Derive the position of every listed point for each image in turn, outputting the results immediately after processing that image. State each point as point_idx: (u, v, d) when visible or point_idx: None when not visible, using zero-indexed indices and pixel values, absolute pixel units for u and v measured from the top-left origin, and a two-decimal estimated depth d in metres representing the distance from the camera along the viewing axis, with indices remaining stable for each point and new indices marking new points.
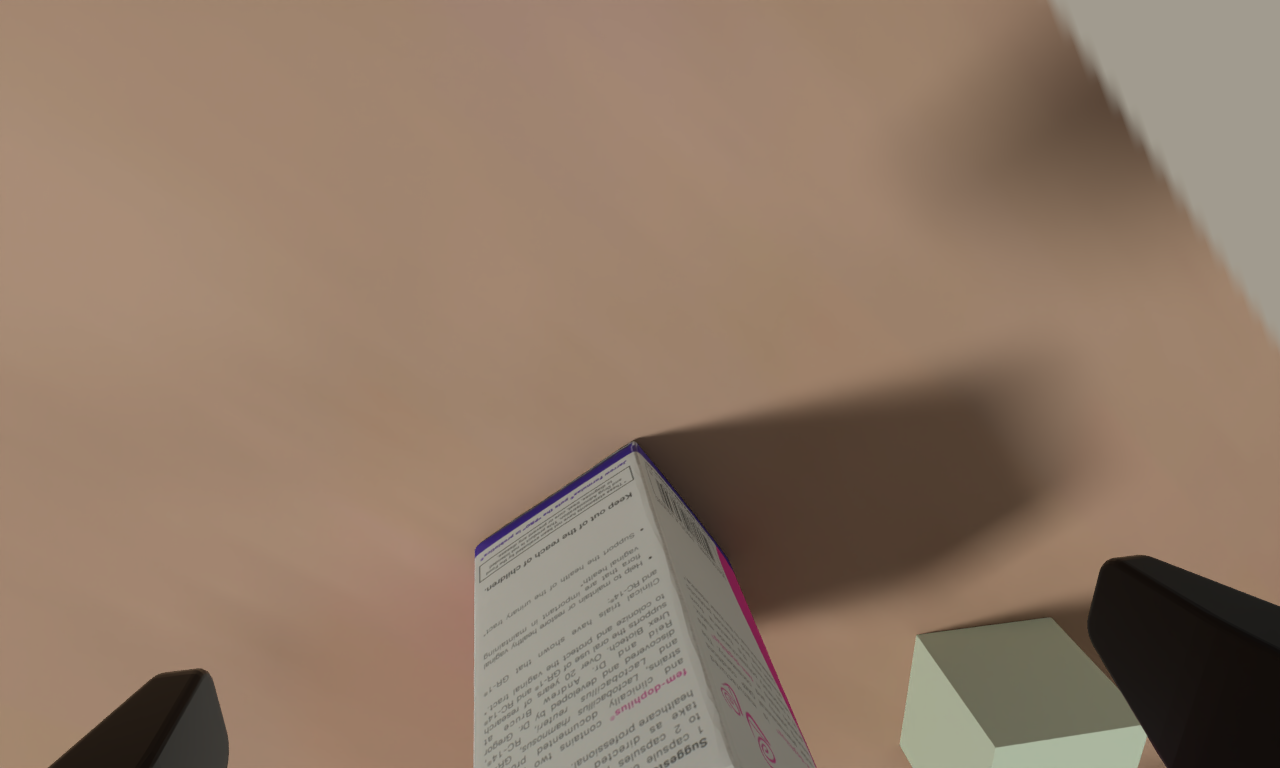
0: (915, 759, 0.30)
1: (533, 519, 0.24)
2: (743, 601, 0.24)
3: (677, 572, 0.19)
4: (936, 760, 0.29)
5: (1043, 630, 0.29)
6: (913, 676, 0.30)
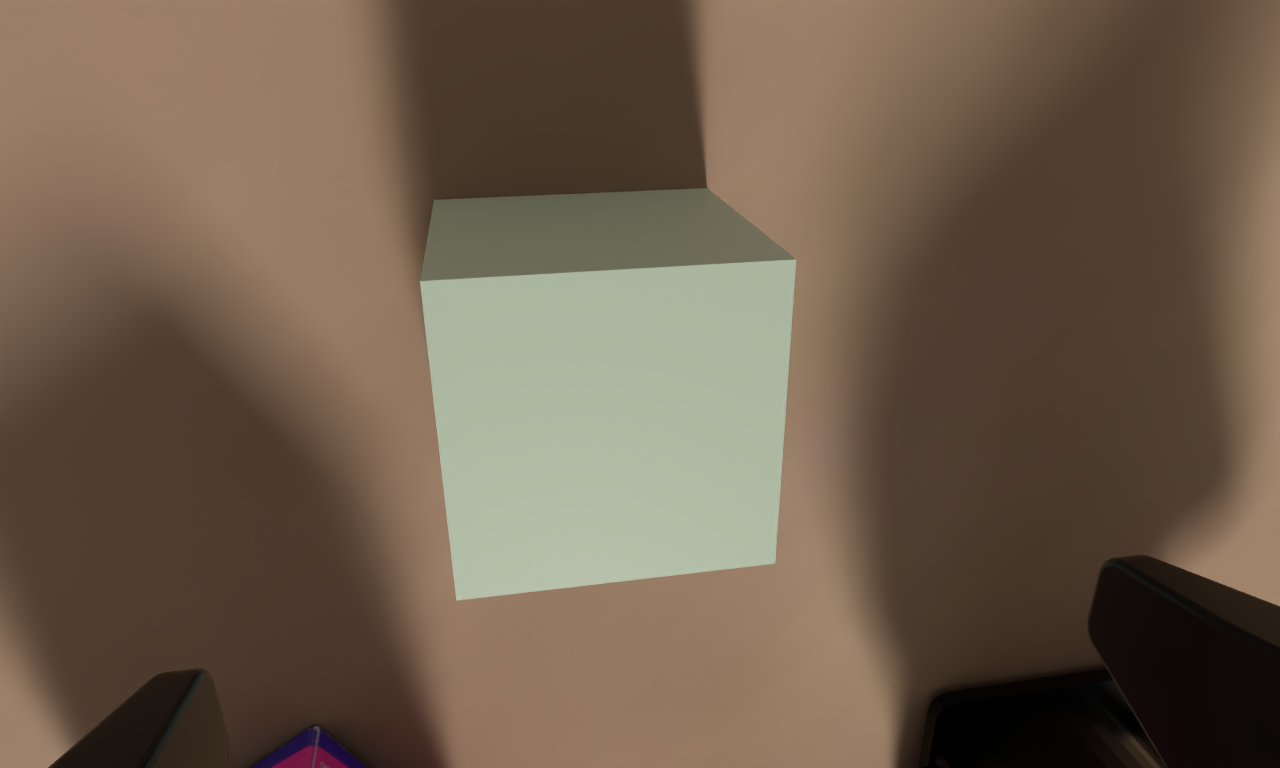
0: None
1: None
2: None
3: None
4: None
5: None
6: None
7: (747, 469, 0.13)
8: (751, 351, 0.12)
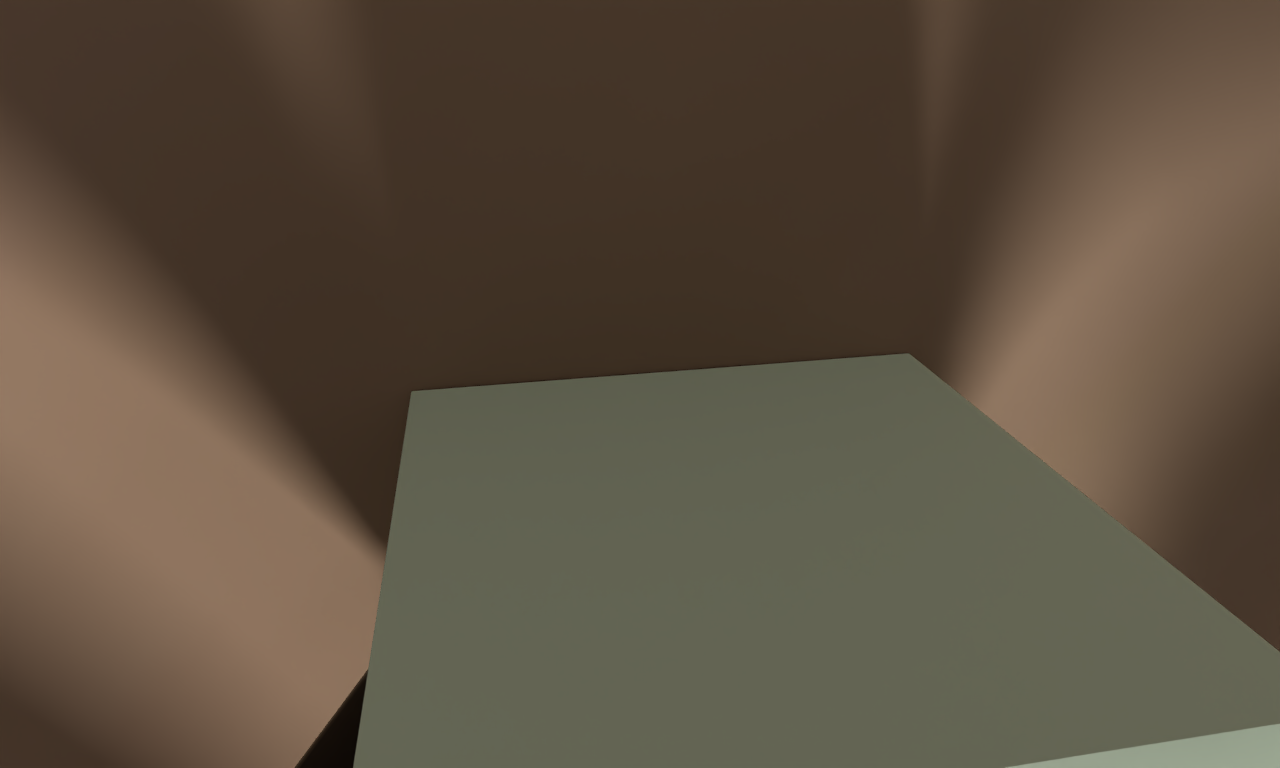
0: None
1: None
2: None
3: None
4: None
5: None
6: None
7: None
8: None
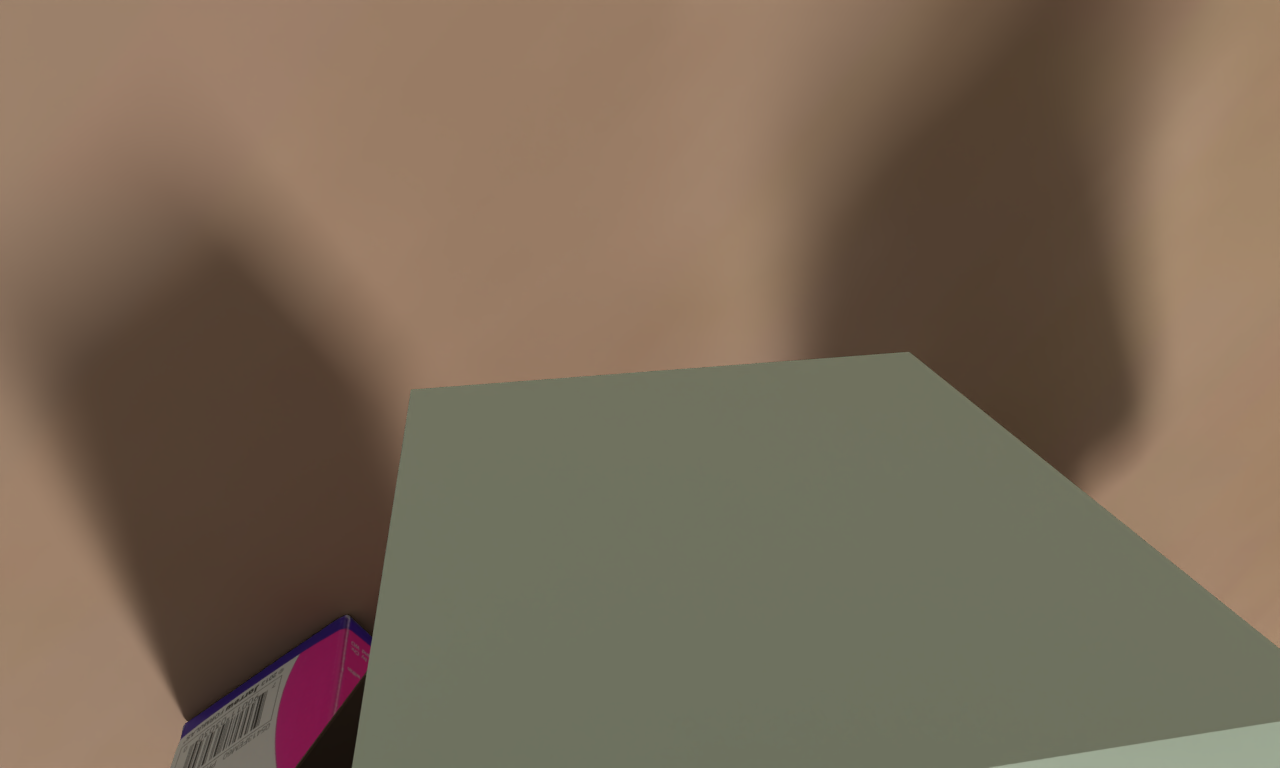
0: None
1: None
2: (313, 691, 0.21)
3: None
4: None
5: None
6: None
7: None
8: None
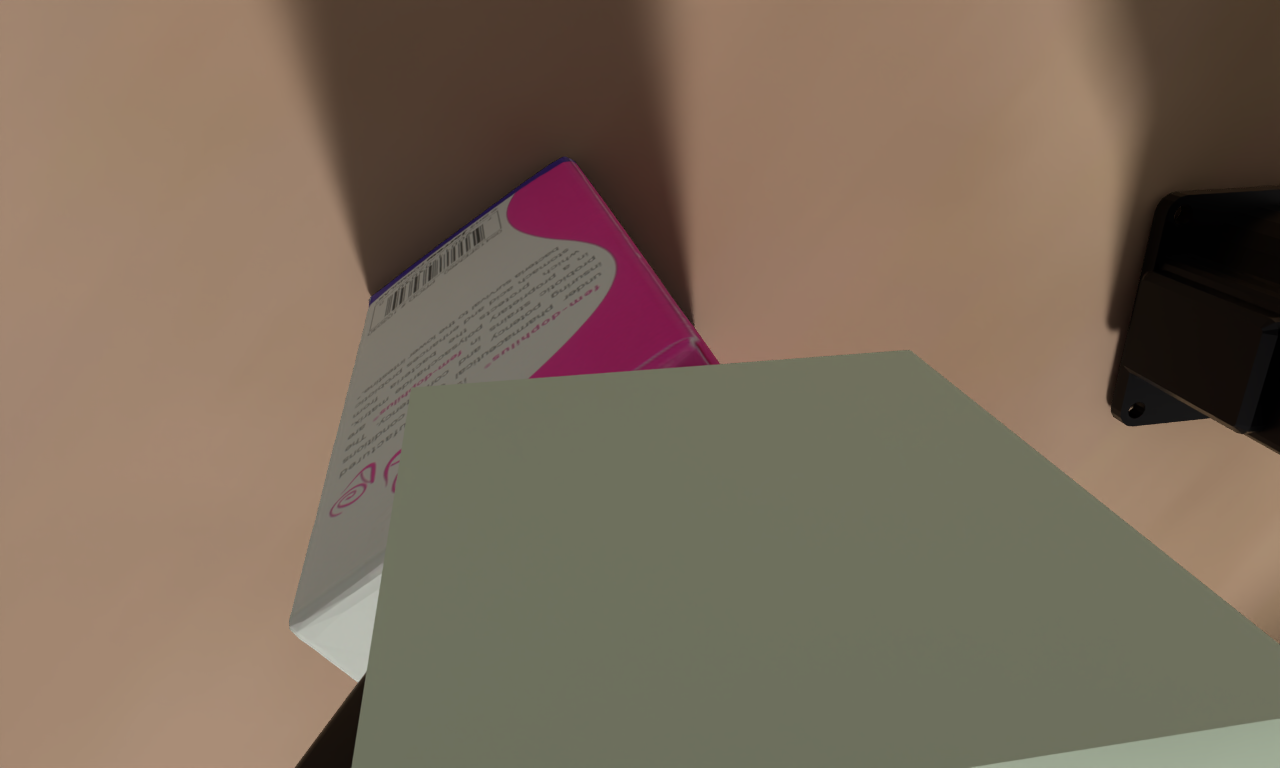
0: None
1: None
2: (551, 192, 0.17)
3: (344, 411, 0.14)
4: None
5: None
6: None
7: None
8: None
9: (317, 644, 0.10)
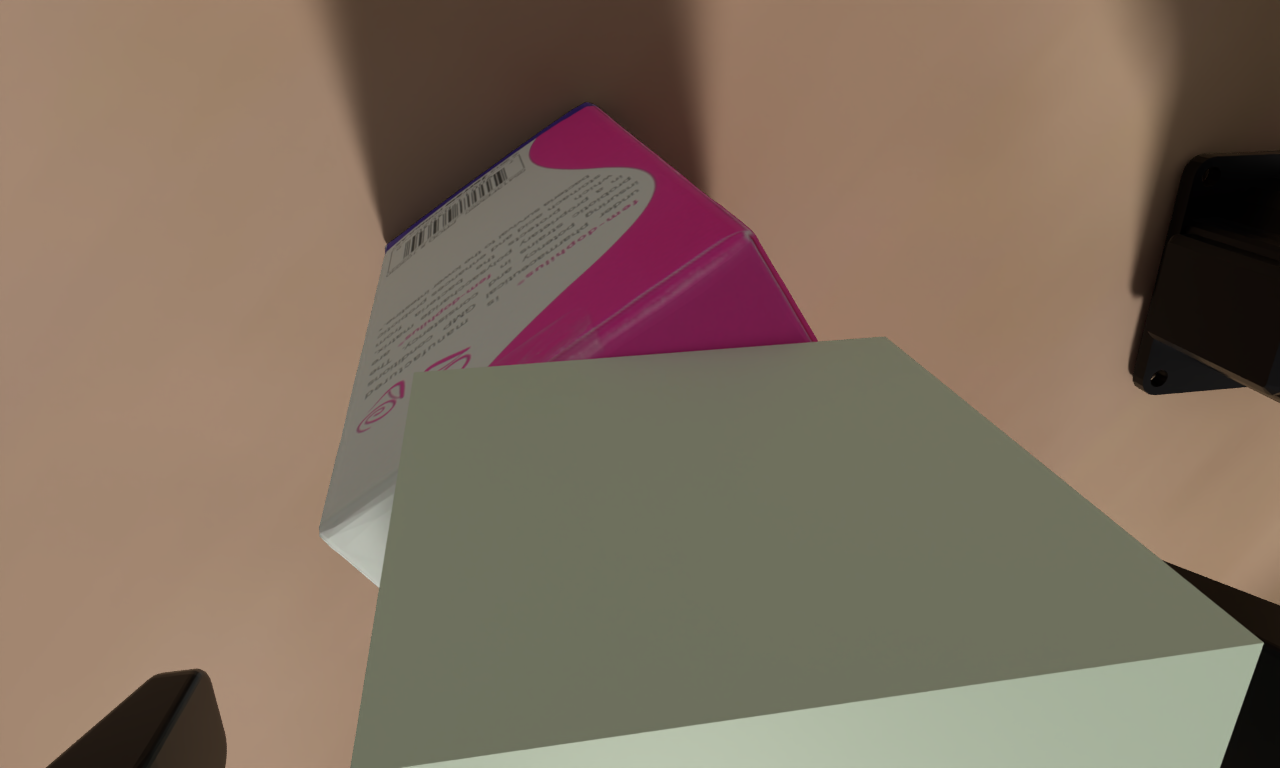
0: None
1: None
2: (576, 132, 0.17)
3: (366, 343, 0.14)
4: None
5: None
6: None
7: None
8: None
9: (348, 552, 0.09)
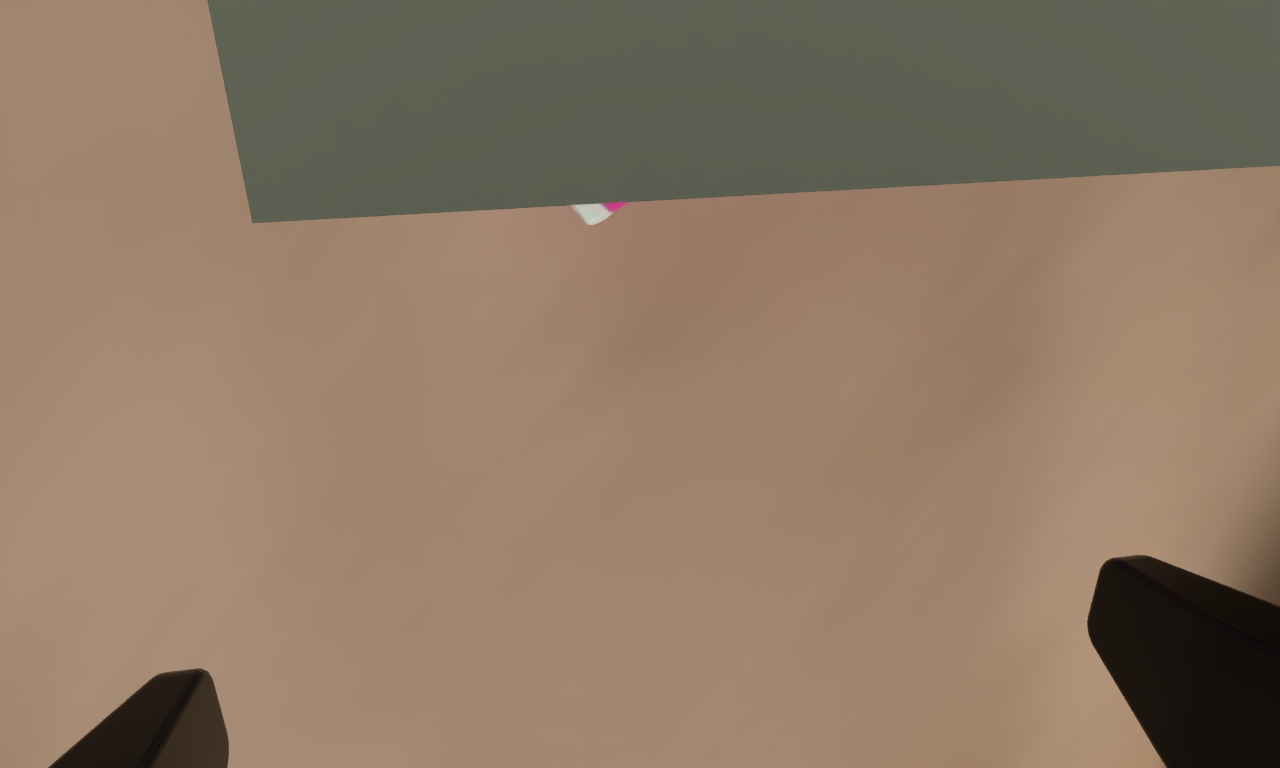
0: None
1: None
2: None
3: None
4: None
5: None
6: None
7: None
8: None
9: None
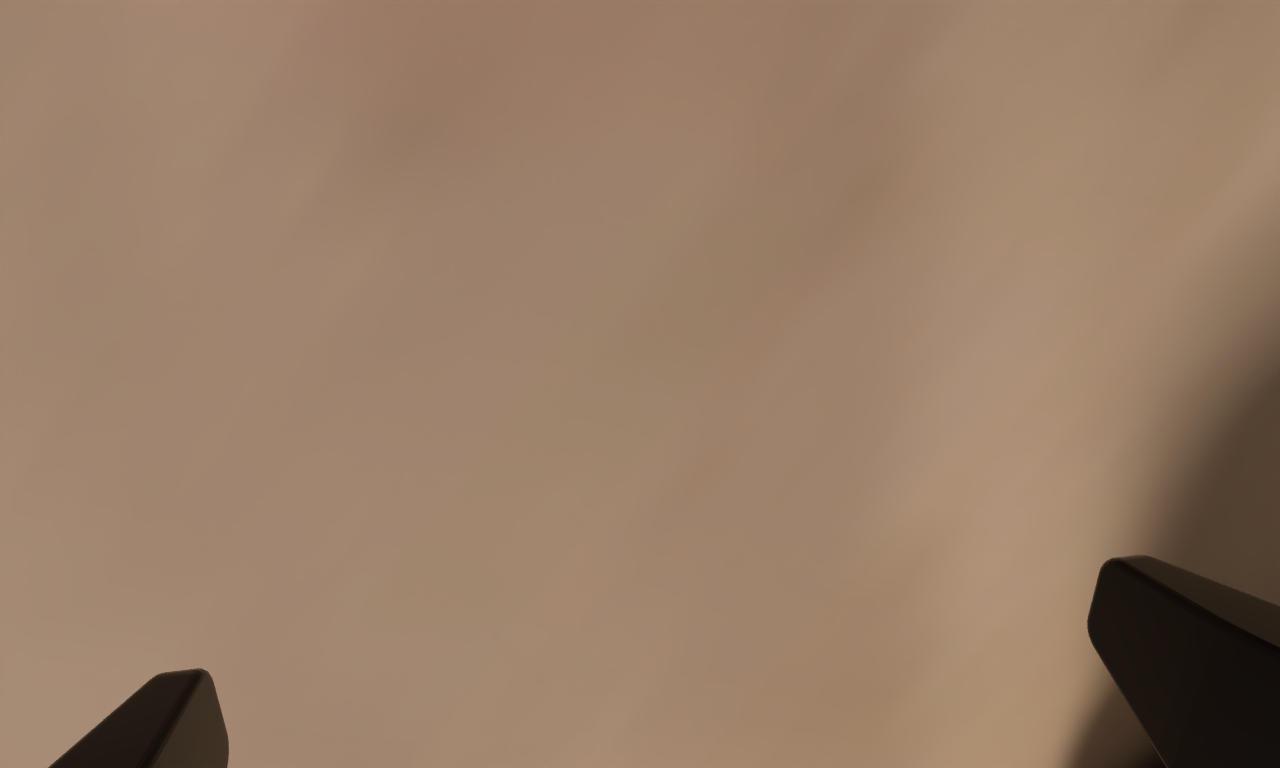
0: None
1: None
2: None
3: None
4: None
5: None
6: None
7: None
8: None
9: None
